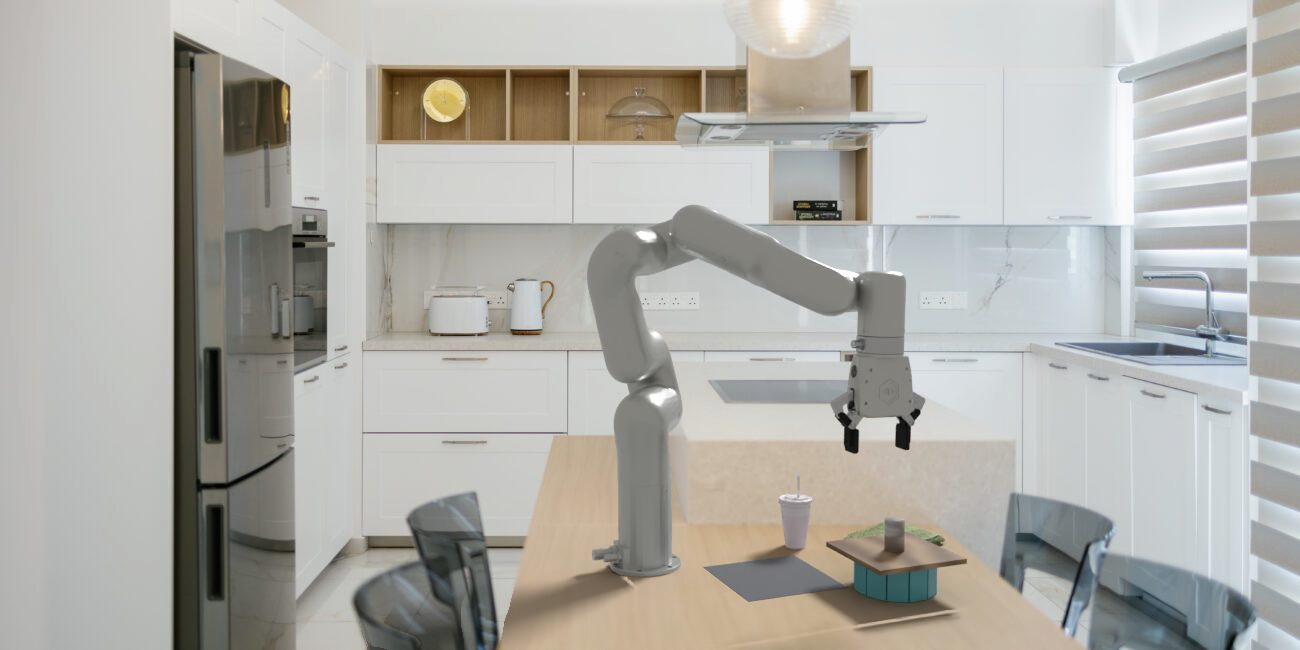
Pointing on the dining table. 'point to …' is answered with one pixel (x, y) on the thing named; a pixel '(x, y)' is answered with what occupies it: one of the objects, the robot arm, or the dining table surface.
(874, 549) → the cover
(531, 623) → the dining table surface
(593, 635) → the dining table surface
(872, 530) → the washcloth
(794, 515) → the smoothie
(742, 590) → the mat
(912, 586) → the bowl
